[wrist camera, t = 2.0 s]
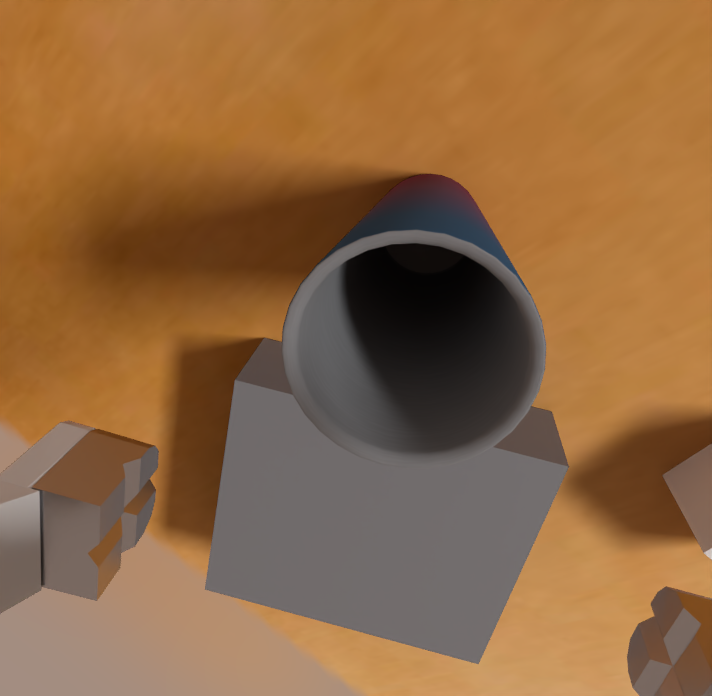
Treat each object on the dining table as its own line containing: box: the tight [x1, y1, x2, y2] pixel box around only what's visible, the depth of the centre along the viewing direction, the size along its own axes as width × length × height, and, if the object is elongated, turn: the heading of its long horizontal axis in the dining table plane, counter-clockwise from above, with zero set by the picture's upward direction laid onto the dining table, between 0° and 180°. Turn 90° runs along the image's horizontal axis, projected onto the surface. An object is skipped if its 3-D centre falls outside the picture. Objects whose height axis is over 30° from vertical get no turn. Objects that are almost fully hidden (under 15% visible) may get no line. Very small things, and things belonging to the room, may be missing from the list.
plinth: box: [205, 338, 569, 664], centre depth 33 cm, size 16×14×5 cm
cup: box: [282, 174, 546, 469], centre depth 22 cm, size 7×7×15 cm
